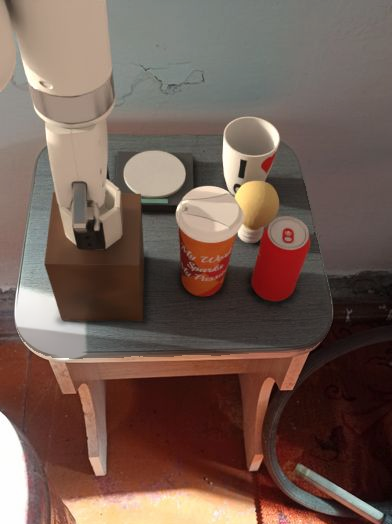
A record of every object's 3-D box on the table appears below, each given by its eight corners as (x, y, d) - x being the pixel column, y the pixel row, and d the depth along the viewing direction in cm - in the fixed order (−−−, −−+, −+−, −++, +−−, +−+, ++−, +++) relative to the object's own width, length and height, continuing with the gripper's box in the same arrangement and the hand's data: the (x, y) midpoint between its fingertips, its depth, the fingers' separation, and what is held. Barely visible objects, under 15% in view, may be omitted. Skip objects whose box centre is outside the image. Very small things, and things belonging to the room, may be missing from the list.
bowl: (63, 249, 66) (56, 221, 62) (68, 205, 69) (61, 175, 65) (121, 250, 67) (119, 222, 62) (123, 206, 70) (121, 176, 65)
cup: (225, 209, 87) (233, 160, 78) (211, 171, 91) (216, 120, 82) (275, 200, 89) (287, 151, 80) (258, 163, 92) (269, 113, 83)
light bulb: (269, 220, 87) (281, 172, 78) (271, 253, 84) (284, 207, 75) (228, 218, 86) (235, 170, 78) (228, 251, 84) (236, 205, 75)
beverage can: (293, 270, 83) (313, 215, 72) (293, 306, 80) (313, 254, 69) (251, 265, 83) (265, 210, 72) (249, 301, 80) (262, 248, 69)
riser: (61, 320, 77) (44, 264, 65) (68, 255, 82) (52, 191, 70) (142, 321, 77) (139, 264, 66) (144, 256, 82) (141, 193, 71)
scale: (115, 210, 86) (114, 201, 84) (118, 158, 91) (117, 148, 89) (193, 212, 87) (194, 203, 85) (192, 159, 92) (192, 150, 90)
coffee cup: (172, 301, 79) (174, 232, 66) (175, 254, 83) (177, 180, 69) (231, 305, 79) (245, 237, 66) (231, 258, 83) (245, 184, 70)
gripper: (39, 25, 55) (67, 159, 70) (18, 156, 47) (55, 275, 62) (117, 27, 55) (128, 160, 70) (109, 157, 47) (124, 275, 62)
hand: (94, 214), depth 66 cm, fingers open, 9 cm apart
